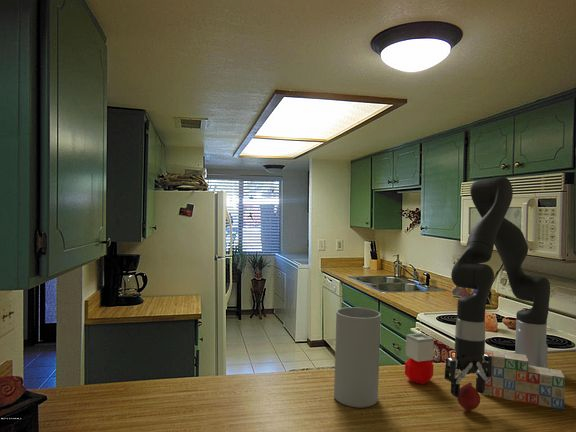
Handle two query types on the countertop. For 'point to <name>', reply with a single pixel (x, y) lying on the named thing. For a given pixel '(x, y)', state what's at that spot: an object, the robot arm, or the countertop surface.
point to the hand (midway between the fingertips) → (467, 394)
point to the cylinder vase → (357, 356)
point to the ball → (419, 371)
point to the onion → (468, 397)
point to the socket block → (419, 347)
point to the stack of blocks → (524, 381)
